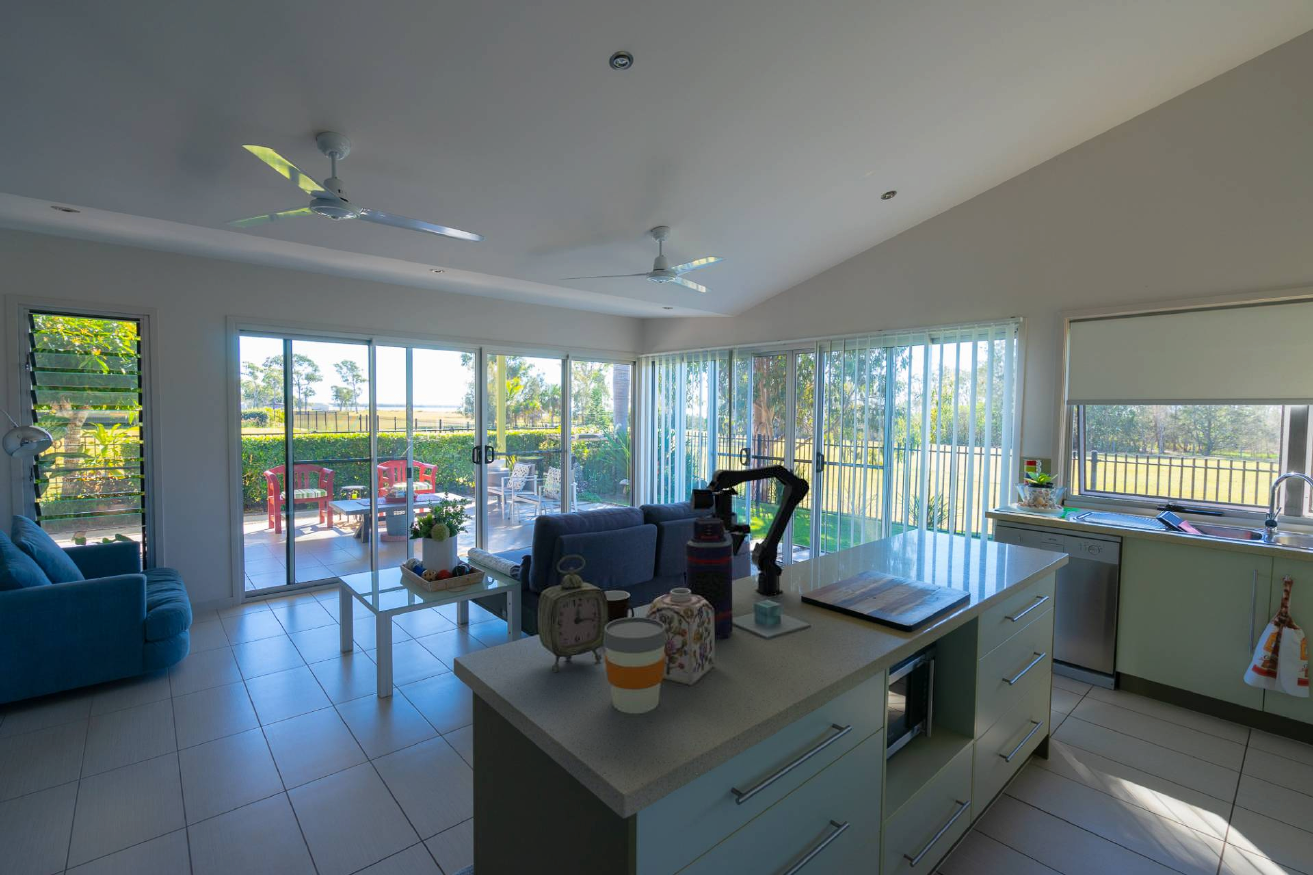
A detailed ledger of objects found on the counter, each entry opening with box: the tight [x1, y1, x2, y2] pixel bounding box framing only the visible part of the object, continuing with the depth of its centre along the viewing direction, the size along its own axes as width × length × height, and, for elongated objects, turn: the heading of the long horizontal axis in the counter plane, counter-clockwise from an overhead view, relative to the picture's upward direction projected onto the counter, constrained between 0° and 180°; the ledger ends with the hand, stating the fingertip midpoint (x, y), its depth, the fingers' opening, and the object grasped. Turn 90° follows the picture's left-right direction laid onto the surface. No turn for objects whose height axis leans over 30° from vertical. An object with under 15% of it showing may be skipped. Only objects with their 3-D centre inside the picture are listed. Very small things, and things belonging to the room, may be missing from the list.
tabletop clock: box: [537, 554, 609, 673], centre depth 135 cm, size 14×9×25 cm, turn 123°
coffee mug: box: [604, 590, 635, 623], centre depth 153 cm, size 12×9×10 cm
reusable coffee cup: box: [603, 616, 667, 714], centre depth 115 cm, size 13×13×15 cm
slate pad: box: [732, 612, 811, 640], centre depth 160 cm, size 16×16×1 cm
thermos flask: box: [685, 517, 734, 641], centre depth 153 cm, size 14×12×30 cm
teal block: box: [753, 599, 782, 626], centre depth 160 cm, size 5×5×5 cm
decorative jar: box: [645, 587, 716, 686], centre depth 130 cm, size 12×12×18 cm
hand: (723, 557), depth 187 cm, fingers open, 9 cm apart
